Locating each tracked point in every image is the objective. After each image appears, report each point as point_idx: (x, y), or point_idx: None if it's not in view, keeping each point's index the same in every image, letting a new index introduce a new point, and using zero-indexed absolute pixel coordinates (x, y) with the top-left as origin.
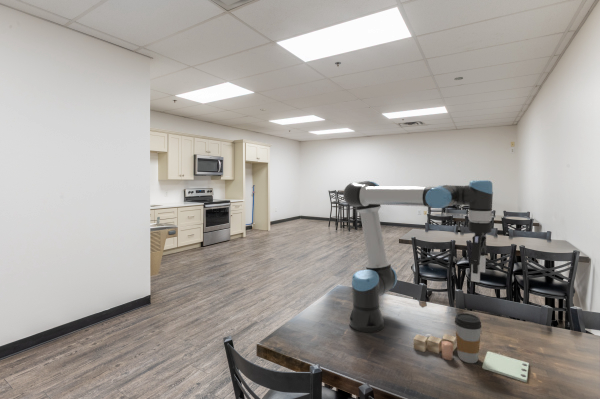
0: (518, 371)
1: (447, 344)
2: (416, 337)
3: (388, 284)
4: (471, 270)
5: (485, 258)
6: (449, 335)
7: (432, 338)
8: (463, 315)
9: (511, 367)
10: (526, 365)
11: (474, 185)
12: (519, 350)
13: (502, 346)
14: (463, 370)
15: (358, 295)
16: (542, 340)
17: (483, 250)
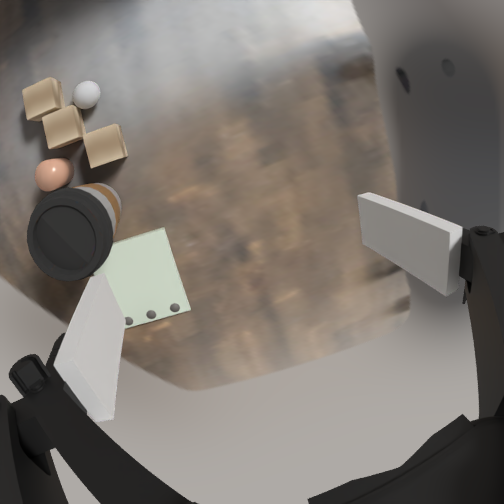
0: (134, 310)
1: (45, 178)
2: (32, 89)
3: None
4: (72, 323)
5: (436, 284)
6: (115, 138)
7: (60, 119)
8: (72, 216)
9: (138, 295)
10: (175, 311)
11: None
12: (244, 269)
13: (232, 235)
14: None
15: None
16: (334, 281)
17: (476, 325)
